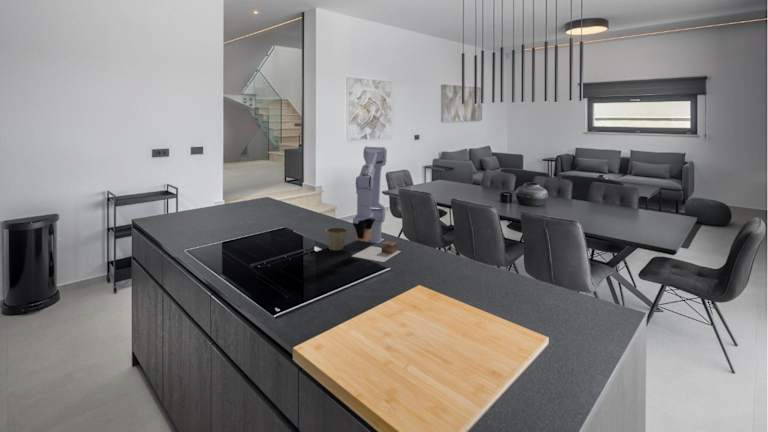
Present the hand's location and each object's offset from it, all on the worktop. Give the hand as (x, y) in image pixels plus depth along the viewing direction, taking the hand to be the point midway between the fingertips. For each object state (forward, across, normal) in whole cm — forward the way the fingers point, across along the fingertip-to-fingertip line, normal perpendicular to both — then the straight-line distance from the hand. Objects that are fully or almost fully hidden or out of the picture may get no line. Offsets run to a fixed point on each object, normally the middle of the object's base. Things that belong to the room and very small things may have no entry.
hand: (363, 236), depth 178 cm
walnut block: (+8, +10, -8) cm, 14 cm away
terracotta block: (+1, 0, 0) cm, 1 cm away
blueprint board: (+8, +4, -4) cm, 10 cm away
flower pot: (+8, +2, +15) cm, 17 cm away
